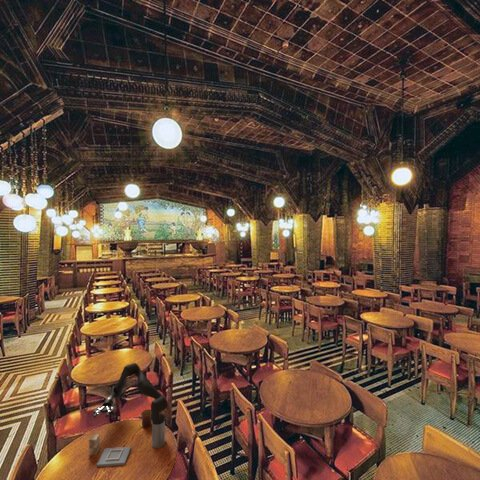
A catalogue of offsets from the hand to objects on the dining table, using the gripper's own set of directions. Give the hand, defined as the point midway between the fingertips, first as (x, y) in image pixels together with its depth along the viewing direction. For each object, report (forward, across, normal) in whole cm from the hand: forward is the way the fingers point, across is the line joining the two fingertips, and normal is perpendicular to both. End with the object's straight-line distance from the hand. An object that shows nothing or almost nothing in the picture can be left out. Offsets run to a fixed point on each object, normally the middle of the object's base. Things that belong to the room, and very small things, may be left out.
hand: (100, 416), depth 205 cm
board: (+17, +16, +18) cm, 30 cm away
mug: (-15, +32, +18) cm, 40 cm away
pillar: (+11, 0, +18) cm, 21 cm away
